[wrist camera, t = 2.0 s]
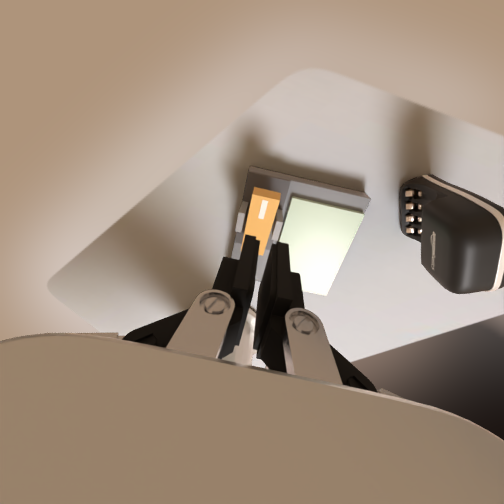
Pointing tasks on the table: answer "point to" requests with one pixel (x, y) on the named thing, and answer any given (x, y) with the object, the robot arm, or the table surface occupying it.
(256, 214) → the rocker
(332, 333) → the table surface
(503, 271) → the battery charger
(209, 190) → the table surface
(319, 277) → the grey holder stand
